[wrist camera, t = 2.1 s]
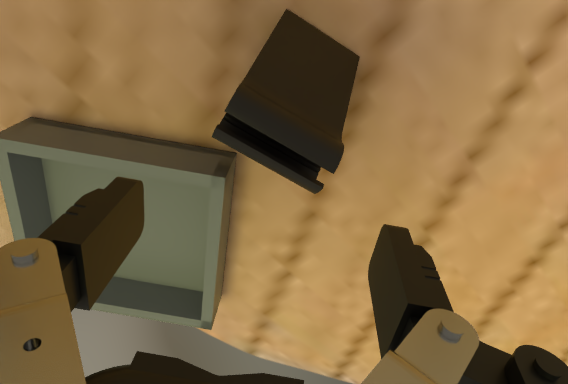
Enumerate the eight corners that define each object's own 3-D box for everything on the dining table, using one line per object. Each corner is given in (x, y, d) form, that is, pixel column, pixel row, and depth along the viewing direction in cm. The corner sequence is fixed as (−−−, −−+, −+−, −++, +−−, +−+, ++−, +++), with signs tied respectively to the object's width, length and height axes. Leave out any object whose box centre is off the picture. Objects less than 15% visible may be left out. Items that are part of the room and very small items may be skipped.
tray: (56, 266, 39) (28, 298, 35) (30, 116, 31) (-11, 136, 28) (221, 294, 40) (211, 329, 36) (236, 153, 32) (225, 177, 28)
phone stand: (293, 154, 31) (281, 243, 21) (228, 116, 30) (181, 190, 20) (359, 56, 27) (386, 105, 17) (287, 7, 26) (267, 28, 16)
